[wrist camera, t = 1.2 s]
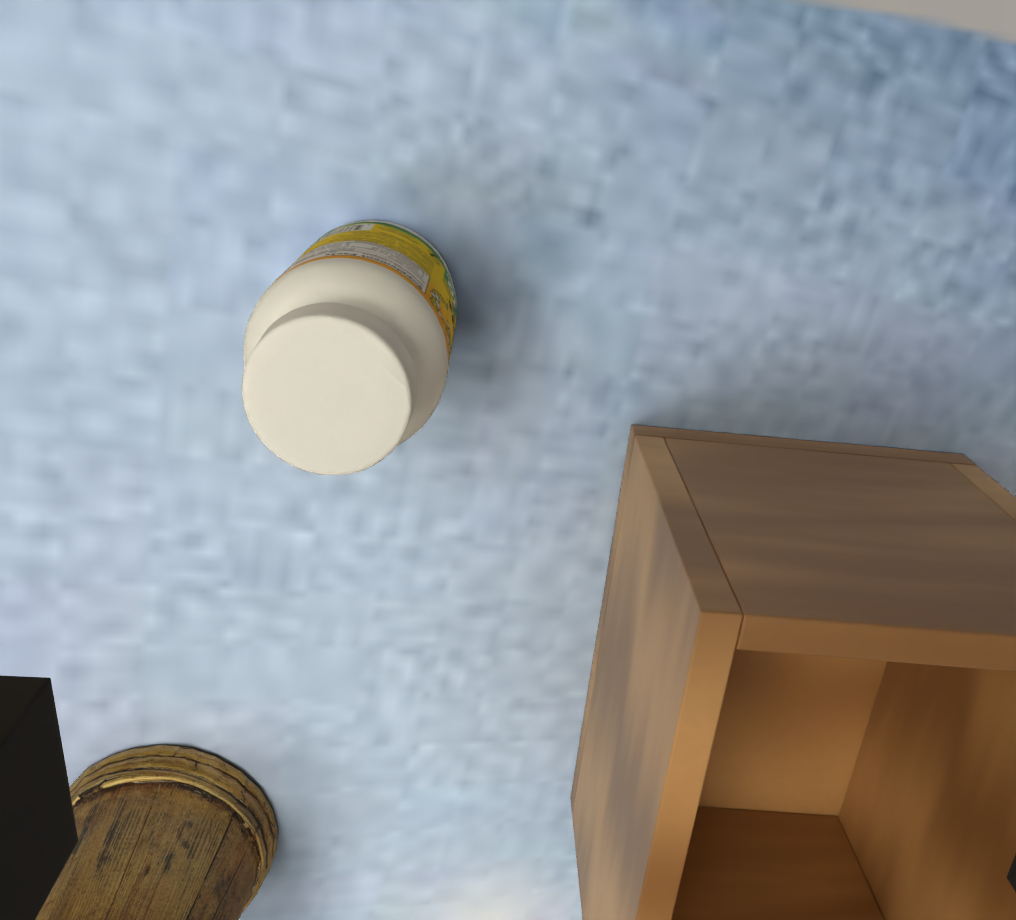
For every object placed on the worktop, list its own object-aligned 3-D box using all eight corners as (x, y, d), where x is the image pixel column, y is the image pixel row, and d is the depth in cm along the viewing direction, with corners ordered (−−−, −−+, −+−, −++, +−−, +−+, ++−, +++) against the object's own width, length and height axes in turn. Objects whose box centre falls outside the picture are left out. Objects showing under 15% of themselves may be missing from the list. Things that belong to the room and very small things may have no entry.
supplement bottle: (331, 188, 28) (257, 240, 20) (486, 262, 29) (480, 344, 21) (272, 338, 30) (180, 447, 22) (419, 403, 31) (388, 534, 22)
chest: (630, 424, 32) (701, 611, 21) (963, 453, 32) (1205, 651, 21) (570, 797, 38) (599, 1090, 27) (847, 816, 39) (985, 1111, 28)
